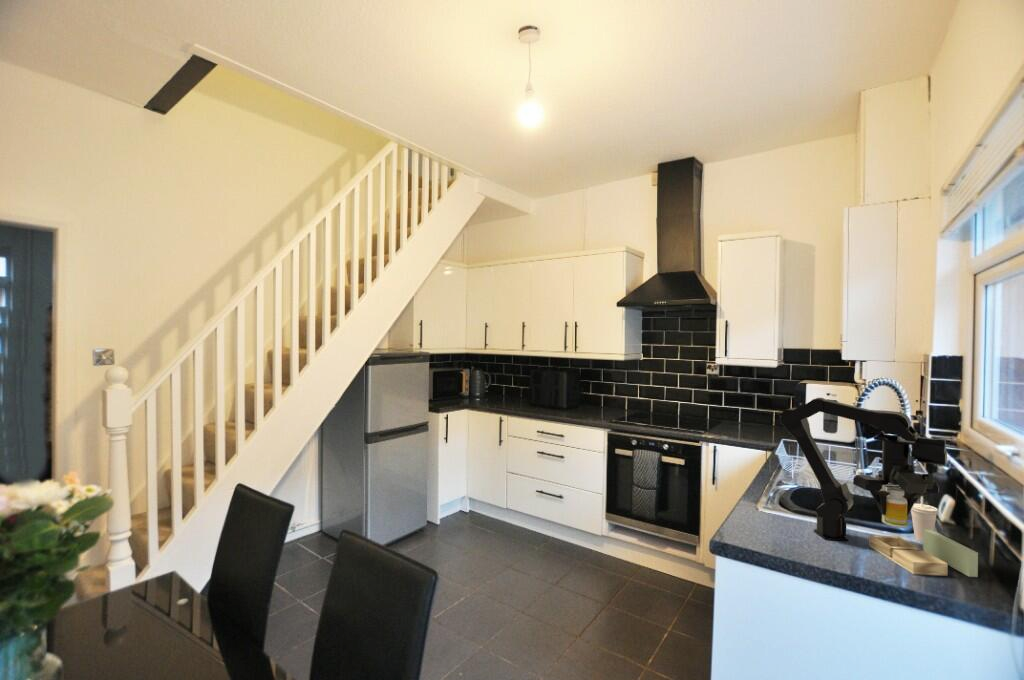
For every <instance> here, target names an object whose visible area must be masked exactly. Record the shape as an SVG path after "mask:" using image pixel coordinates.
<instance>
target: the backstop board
mask: <svg viewBox="0 0 1024 680" xmlns="http://www.w3.org/2000/svg"><path fill="white" fill-rule="evenodd" d="M923 551H926V552H928V553H929V554H931V555H933V556H935V557H937V558H938V559H940V560H942V561H944V562H946V563H947V564H948V567H951V568H953V569H955V570H957V571H958V572H960V573H962V574H964V575H965V576H967V577H969V578H978V576H979V575H978V573H979V572H978V571H979V562H978V561H979V552H977V551H975V550H973V549H972V548H969V547H967V546H965V545H964V544H961V543H959V542H957V541H956V540H955V541H954V540H953V539H952V538H951V539H950V538H948V537H947V536H944V535H942V534H940V533H938V532H937V531H935V530H934V531H933V530H924V542H923Z"/></svg>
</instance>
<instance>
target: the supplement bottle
mask: <svg viewBox="0 0 1024 680" xmlns="http://www.w3.org/2000/svg"><path fill="white" fill-rule="evenodd" d="M886 491H887V492H889V493H890V494H889V495H888V496H887V497H886V515H883V514H881V522H882V523H883V524H884V525H888V526H890V527H893V528H903V529H904V528H907V527H908V516H907V500H906V499H905V498H904V497H903V496H904V491H903V489H900V487H886Z"/></svg>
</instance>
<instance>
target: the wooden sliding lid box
mask: <svg viewBox="0 0 1024 680" xmlns="http://www.w3.org/2000/svg"><path fill="white" fill-rule="evenodd" d="M868 541H869V542H868V543H869V544H868V546H869V547H870V548H872V549H874V551H876V552H878V553H880V554H881V555H882V556H885V557H886V558H887V559H889V560H890V561H892V562H894V563H895V564H897V565H898V566H900V567H901V568H903V569H905V570H906V571H908V572H909V573H911V574H912V575H922V576H923V575H924V576H946V577H947V576H948V567H949V565H948V564H947V563H946V562H944V561H942V560H940V559H938V558H937V557H935V556H933V555H931V554H929V553H928V552H926V551H924V550H923V549H922V548H920V547H919V546H918V545H914V543H911V542H910V541H908V540H907V539H904V538H903V537H900V536H894V535H893V536H889V535H868Z"/></svg>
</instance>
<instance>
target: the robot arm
mask: <svg viewBox="0 0 1024 680" xmlns="http://www.w3.org/2000/svg"><path fill="white" fill-rule="evenodd" d="M818 413H824V414H828V415H831V416H836V417H839V418H840V417H841V418H844V419H848V420H852V421H856V422H860V423H864V424H867V425H868V426H869V425H870V426H871V427H874V428H875V429H877V430H879V431H880V432H879V433H878V434H877V435H875V436H873V440H874V441H881V442H882V451H881V453H882V457H881V458H879V459H878V463H879V464H881V473H878V478H879V479H878V478H876V477H873V476H872V475H868V474H866V475H865V474H864V475H863V474H856V475H855V476H854V477H853V478H852V482H853V483H852V485H854V486H856V487H858V488H861V489H863V490H864V491H869V493H870V494H871V496H872V498H873V500H874V501H875V503H876V506H877V507H878V508H877V509H879V512H880V513H881V515H882V514H883V515H886V497H887V496H888V495H889V494H890V493H889V492H887V491H886V487H896V488H900V489H903V491H904V496H903V497H904V498H905V499H906V500H907V517H908V516H909V514H911V509H912V507H913V505H914V503H916V502H917V500H918V499H919V498H921V496H923V497H925V496H926V497H927V495H928V494H939V493H940V486H939V485H938V483H937V482H936V481H934V477H933V476H932V475H931V474H930V473H928V474H927V473H922V474H920V473H915V471H914V470H915V469H914V465H913V464H910V445H911V457H912V458H913V459H914V460H916V462H918V463H925V464H929V465H936V466H937V465H938V466H944V467H947V463H948V462H947V461H948V460H947V459H948V450H947V443H946V442H947V441H946V439H945V438H932V437H924V436H923V437H922V436H921V435H920V434H919V433H918V432H917V430H916V429H915V428H914V427H913V426H912V422H911V419H910V417H909V415H907V414H906V413H904V412H901V411H894V410H893V411H891V410H881V409H879V410H877V409H868V408H865V407H864V408H863V407H860V406H855V405H852V404H851V405H850V404H847V403H843V402H839V401H834V400H831V399H826V398H823V397H816V398H813V399H812V400H811V401H808V402H807V403H805V404H802V405H800V406H799V407H798V406H797V407H791V408H788V409H785V410H783V411H782V412H781V413H780V415H779V422H780V423H781V425H782V427H784V428H785V430H786V431H787V432H788V434H790V436H792V438H794V439H795V440H796V442H797V444H798V445H799V448H800V450H801V451H802V453H803V455H804V457H805V459H806V461H807V462H808V464H809V467H810V468H811V471H812V473H813V475H814V476H815V478H816V479H817V481H818V484H819V486H820V493H821V497H822V501H823V503H821V504H820V505H819V506H818V507H816V509H815V513H816V529H815V528H814V529H813V532H814V533H815V534H817V535H818V536H820V537H821V538H823V539H824V540H827V541H828V540H829V541H849V537H847V522H846V517H845V516H843V515H845V514H846V513H847V512H848V511H849V510H850V509H852V507H853V505H854V499H853V498H854V495H853V494H852V492H851V491H850V489H849V486H848V484H847V483H846V482H844V483H840V482H839V481H838V480H837V478H835V476H834V474H833V472H832V470H831V468H830V467H829V464H828V463H827V461H826V460H825V457H824V456H823V454H822V451H821V450H820V448H819V447H818V445H817V443H816V441H815V439H814V437H813V436H812V433H811V432H812V431H811V428H810V422H809V420H808V419H809V418H810V417H812V416H814V415H816V414H818ZM887 433H888V434H887ZM927 493H928V494H927Z"/></svg>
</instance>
